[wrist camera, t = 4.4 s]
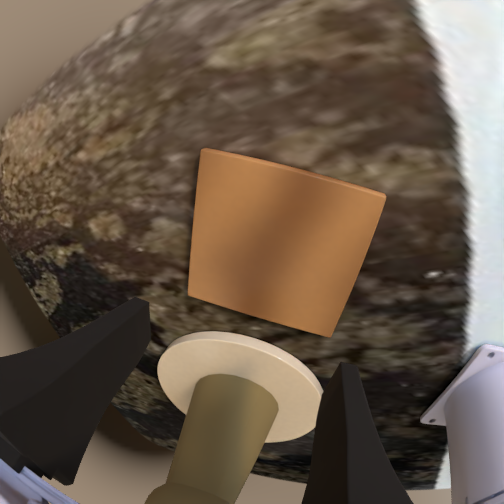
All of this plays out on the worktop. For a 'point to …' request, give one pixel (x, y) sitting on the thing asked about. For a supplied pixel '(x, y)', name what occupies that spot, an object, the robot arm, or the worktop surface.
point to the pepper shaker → (218, 441)
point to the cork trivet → (278, 240)
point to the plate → (243, 376)
